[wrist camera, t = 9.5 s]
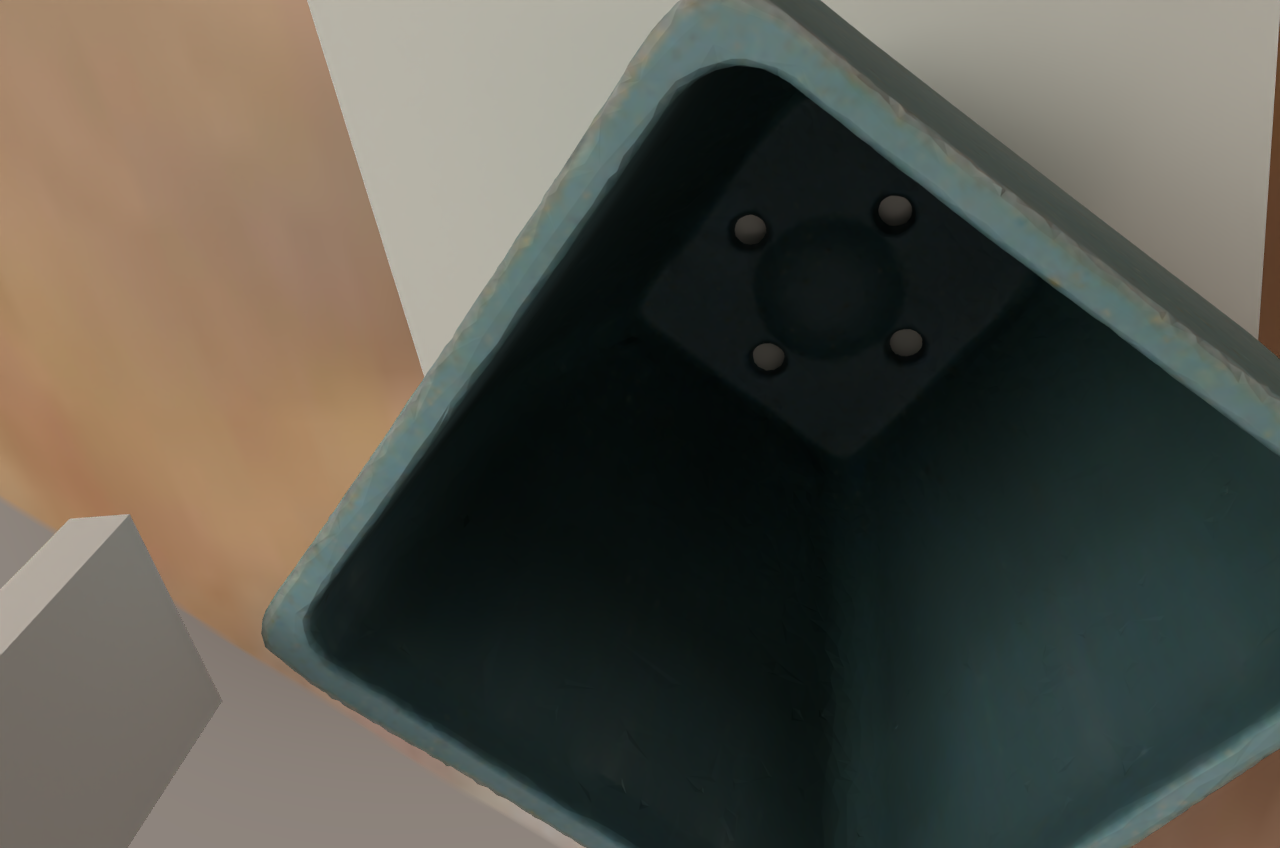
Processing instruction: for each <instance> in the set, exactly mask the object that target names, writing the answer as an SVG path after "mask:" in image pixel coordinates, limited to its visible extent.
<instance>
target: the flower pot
mask: <svg viewBox="0 0 1280 848" xmlns="http://www.w3.org/2000/svg"><path fill="white" fill-rule="evenodd" d="M889 196H900V197H904V198H906V199H907V200H908V201H909V203H910V204H911V206H912V214H911V217H910V218H909V220H908V221H907V222H906V223H904V224H901V225H898V226H890V225H888V224H886V223H885V222H884V221H882V219H881V217H880V216H879V212H878V209H879V206H880V204H881V201H883V200H884V199H885V198H887V197H889ZM747 215H754V216H757V217H759V218H760V219H762V220H763V222H764V224H765V226H766V234H765V236H764V238H763V239H762V240H761V241H760V242H759V243H756V244H744V243H743V242H741V241H740V240H739V239H738V238H737V237H736V235H735V226H736V223H737V221H738V220H739V219H740V218H742V217H744V216H747ZM903 329H911V330H913V331H916V332H917V333H918V334H919V335H920V336H921V337H922V347H921V349H920V350H919V351H918V352H917V353H915V354H914V355H910V356H900V355H898V354H895V353H894V352H893V351H892V349H891V346H890V339H891V337H892V336H893V334H894V333H895V332H897V331H899V330H903ZM769 343H771V344H773V345H776V346H778V347H779V348H780V349H782V351H783V352H784V356H785V357H784V361H783V363H782V365H781V366H780V367H778V368H776V369H774V370H764V369H762V368H760V367H758V366H757V364H756V363H755V362H754V358H753V352H754V350H755V348H756V347H757V346H759V345H761V344H769ZM261 634H262V637H263V641H264V644H265V647H266V648H267V649H268V650H270V651H271V652H272V653H273V654H274V655H276V656H277V657H278V658H280V659H281V660H282V661H283V662H284V663H286V664H287V665H288V666H289V667H290V668H291V669H293V670H294V671H295V672H297V673H298V674H300V675H301V676H302V677H304V678H305V679H306V680H307V681H308V682H309V683H310V684H312V685H314V686H316V687H317V688H319V689H320V690H321V691H323V692H326V693H327V694H328V695H329V696H330V697H331V698H332V699H335V700H339V701H340V702H341V703H342V704H343V705H344V706H346V707H348V708H349V709H351V710H353V711H356V712H357V713H359V714H361V715H362V716H364V717H366V718H367V719H369V720H370V721H372V722H373V723H376V724H378V725H380V726H382V727H383V728H384V729H385V730H387V731H388V732H390V733H392V734H394V735H396V736H398V737H400V738H401V739H403V740H405V741H406V742H408V743H409V744H411V745H413V746H415V747H417V748H419V749H421V750H423V751H425V752H426V753H428V754H429V755H430V756H432V757H434V758H436V759H438V760H440V761H442V762H443V763H444V764H445V765H446V766H452V767H453V768H455V769H456V770H458V771H460V772H461V773H463V774H464V775H466V776H468V777H470V778H472V779H473V780H474V781H475V782H476V783H477V784H479V785H482V786H485V787H488V788H489V789H490V790H492V791H493V792H494V793H495V794H496V795H498V796H501V797H504V798H506V799H508V800H509V801H511V802H513V803H514V804H516V805H517V806H518V807H520V808H521V809H523V810H524V811H526V812H527V813H529V814H531V815H532V816H534V817H535V818H537V819H540V820H542V821H543V822H545V823H547V824H548V825H550V826H552V827H553V828H555V829H556V830H558V831H559V832H561V833H562V834H564V835H565V836H568V837H570V838H572V839H573V840H575V841H576V842H577V843H579V844H580V845H582V846H584V847H586V848H1130V847H1131V846H1133V845H1135V844H1137V843H1138V842H1140V841H1141V840H1143V839H1144V838H1146V837H1147V836H1149V835H1150V834H1152V833H1153V832H1155V831H1156V830H1158V829H1159V828H1161V827H1162V826H1164V825H1165V824H1167V823H1168V822H1169V821H1171V820H1172V819H1174V818H1175V817H1177V816H1179V815H1180V814H1182V813H1183V812H1185V811H1186V810H1188V809H1189V808H1190V807H1191V806H1192V805H1194V804H1196V803H1198V802H1200V801H1201V800H1203V799H1204V798H1205V797H1207V796H1208V795H1209V794H1211V793H1213V792H1214V791H1216V790H1218V789H1219V788H1221V787H1223V786H1224V785H1226V784H1227V783H1228V782H1230V781H1231V780H1233V779H1234V778H1236V777H1238V776H1239V775H1241V774H1242V773H1244V772H1245V771H1246V770H1248V769H1250V768H1251V767H1253V766H1255V765H1256V764H1257V763H1258V762H1259V761H1260V760H1262V759H1264V758H1265V757H1267V756H1268V755H1270V754H1272V753H1273V752H1275V751H1277V750H1278V749H1280V359H1279V358H1278V357H1277V356H1276V355H1275V354H1273V353H1272V352H1271V351H1270V350H1269V349H1267V348H1266V347H1265V346H1264V345H1263V344H1262V343H1260V342H1259V341H1258V340H1257V339H1256V338H1255V337H1253V336H1252V335H1251V334H1250V333H1249V332H1247V331H1246V330H1245V329H1244V328H1242V327H1241V326H1240V325H1238V324H1237V323H1236V322H1235V321H1233V320H1232V319H1231V318H1229V317H1228V316H1227V315H1225V314H1224V313H1223V312H1222V311H1220V310H1219V309H1218V308H1216V307H1215V306H1214V305H1212V304H1211V303H1210V302H1208V301H1207V300H1206V299H1205V298H1203V297H1202V296H1201V295H1199V294H1198V293H1197V292H1195V291H1194V290H1193V289H1191V288H1190V287H1189V286H1188V285H1186V284H1185V283H1184V282H1182V281H1181V280H1180V279H1178V278H1177V277H1176V276H1174V275H1173V274H1172V273H1171V272H1169V271H1168V270H1167V269H1165V268H1164V267H1163V266H1161V265H1160V264H1159V263H1157V262H1156V261H1155V260H1154V259H1152V258H1151V257H1150V256H1148V255H1147V254H1146V253H1144V252H1143V251H1142V250H1140V249H1139V248H1138V247H1137V246H1135V245H1134V244H1133V243H1131V242H1130V241H1129V240H1127V239H1126V238H1125V237H1124V236H1122V235H1121V234H1120V233H1118V232H1117V231H1116V230H1114V229H1113V228H1112V227H1110V226H1109V225H1108V224H1107V223H1105V222H1104V221H1103V220H1101V219H1100V218H1099V217H1097V216H1096V215H1095V214H1094V213H1092V212H1091V211H1090V210H1088V209H1087V208H1086V207H1084V206H1083V205H1082V204H1080V203H1079V202H1078V201H1077V200H1075V199H1074V198H1073V197H1071V196H1070V195H1069V194H1068V193H1066V192H1065V191H1064V190H1062V189H1061V188H1060V187H1058V186H1057V185H1056V184H1055V183H1053V182H1052V181H1051V180H1049V179H1048V178H1047V177H1046V176H1044V175H1043V174H1042V173H1040V172H1039V171H1038V170H1036V169H1035V168H1034V167H1033V166H1031V165H1030V164H1029V163H1027V162H1026V161H1025V160H1024V159H1022V158H1021V157H1020V156H1018V155H1017V154H1016V153H1014V152H1013V151H1012V150H1011V149H1009V148H1008V147H1007V146H1005V145H1004V144H1003V143H1002V142H1000V141H999V140H998V139H996V138H995V137H994V136H992V135H991V134H990V133H989V132H987V131H986V130H985V129H983V128H982V127H981V126H980V125H978V124H977V123H976V122H974V121H973V120H972V119H970V118H969V117H968V116H967V115H965V114H964V113H963V112H961V111H960V110H959V109H958V108H956V107H955V106H954V105H952V104H951V103H950V102H949V101H947V100H946V99H945V98H943V97H942V96H941V95H940V94H938V93H937V92H936V91H934V90H933V89H932V88H931V87H929V86H928V85H927V84H925V83H924V82H923V81H922V80H920V79H919V78H918V77H917V76H915V75H914V74H913V73H911V72H910V71H909V70H908V69H906V68H905V67H904V66H902V65H901V64H900V63H899V62H897V61H896V60H895V59H893V58H892V57H891V56H890V55H888V54H887V53H886V52H884V51H883V50H882V49H881V48H879V47H878V46H877V45H875V44H874V43H873V42H872V41H870V40H869V39H868V38H866V37H865V36H864V35H863V34H862V33H860V32H859V31H858V30H857V29H855V28H854V27H853V26H852V25H850V24H849V23H848V22H847V21H845V20H844V19H843V18H842V17H841V16H839V15H838V14H837V13H836V12H834V11H833V10H832V9H831V8H829V7H828V6H827V5H826V4H825V3H823V2H822V1H821V0H680V1H678V2H677V3H676V4H675V5H674V6H673V7H672V9H671V10H670V11H669V12H668V13H667V14H666V15H665V16H664V17H663V18H662V19H661V20H660V21H659V22H658V24H657V25H656V26H655V27H654V28H653V29H652V31H651V32H650V33H649V35H648V36H647V38H646V39H645V41H644V42H643V44H642V45H641V46H640V48H639V49H638V51H637V52H636V54H635V55H634V57H633V58H632V59H631V61H630V62H629V64H628V66H627V68H626V70H625V72H624V74H623V75H622V77H621V79H620V80H619V82H618V83H617V85H616V87H615V88H614V90H613V91H612V93H611V95H610V96H609V98H608V99H607V101H606V102H605V104H604V105H603V107H602V108H601V109H600V111H599V112H598V113H597V115H596V116H595V117H594V119H593V121H592V123H591V125H590V126H589V128H588V129H587V131H586V132H585V134H584V136H583V137H582V139H581V140H580V142H579V143H578V145H577V147H576V148H575V150H574V151H573V153H572V154H571V156H570V158H569V159H568V161H567V162H566V164H565V165H564V167H563V168H562V170H561V172H560V173H559V175H558V176H557V177H556V178H555V179H554V182H553V183H552V185H551V186H550V188H549V189H548V190H547V192H546V193H545V195H544V196H543V199H542V201H541V203H540V205H539V206H538V208H537V209H536V210H535V212H534V213H533V215H532V216H531V218H530V219H529V221H528V222H527V223H526V225H525V226H524V228H523V229H522V230H521V232H520V233H519V235H518V236H517V238H516V239H515V241H514V243H513V244H512V246H511V248H510V249H509V251H508V253H507V254H506V256H505V258H504V259H503V261H502V262H501V263H500V265H499V266H498V267H497V269H496V271H495V273H494V275H493V276H492V277H491V279H490V280H489V282H488V283H487V284H486V286H485V287H484V289H483V290H482V292H481V293H480V295H479V296H478V298H477V299H476V301H475V302H474V304H473V305H472V307H471V308H470V310H469V311H468V313H467V314H466V316H465V318H464V319H463V321H462V322H461V324H460V325H459V327H458V328H457V330H456V332H455V334H454V336H453V338H452V339H451V340H450V342H449V343H448V344H447V345H446V346H445V347H444V349H443V351H442V352H441V354H440V355H439V357H438V358H437V360H436V361H435V363H434V364H433V366H432V367H431V368H430V369H429V371H428V372H427V374H426V375H425V377H424V379H423V381H422V382H421V384H420V385H419V386H418V388H417V389H416V391H415V392H414V393H413V395H412V396H411V398H410V399H409V400H408V402H407V403H406V405H405V407H404V408H403V410H402V411H401V413H400V415H399V416H398V417H397V419H396V420H395V422H394V424H393V425H392V427H391V428H390V430H389V432H388V433H387V434H386V436H385V437H384V439H383V440H382V442H381V443H380V445H379V446H378V447H377V449H376V450H375V452H374V453H373V455H372V456H371V458H370V460H369V461H368V462H367V464H366V465H365V466H364V467H363V469H362V471H361V472H360V474H359V475H358V477H357V478H356V480H355V481H354V482H353V484H352V485H351V487H350V488H349V490H348V491H347V493H346V494H345V495H344V497H343V498H342V500H341V501H340V503H339V504H338V506H337V507H336V509H335V511H334V512H333V513H332V515H331V516H330V517H329V519H328V521H327V523H326V524H325V525H324V527H323V528H322V529H321V531H320V532H319V534H318V535H317V537H316V538H315V540H314V541H313V543H312V544H311V545H310V547H309V548H308V549H307V551H306V552H305V553H304V555H303V556H302V558H301V559H300V561H299V562H298V564H297V565H296V567H295V568H294V570H293V571H292V572H291V574H290V575H289V576H288V577H287V579H286V580H285V582H284V583H283V585H282V586H281V587H280V588H279V590H278V591H277V593H276V595H275V597H274V598H273V600H272V601H271V603H270V605H269V606H268V608H267V610H266V612H265V614H264V617H263V621H262V632H261Z"/></svg>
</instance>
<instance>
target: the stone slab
mask: <svg viewBox="0 0 1280 848" xmlns="http://www.w3.org/2000/svg"><path fill="white" fill-rule="evenodd" d="M307 1H308V5H309V8H310V11H311V14H312V17H313V21H314V24H315V27H316V30H317V33H318V37H319V40H320V43H321V46H322V50H323V53H324V56H325V59H326V62H327V66H328V69H329V72H330V75H331V78H332V82H333V85H334V88H335V91H336V95H337V98H338V101H339V104H340V107H341V111H342V114H343V117H344V120H345V123H346V127H347V130H348V133H349V136H350V139H351V143H352V146H353V149H354V152H355V156H356V159H357V162H358V165H359V168H360V172H361V175H362V178H363V181H364V184H365V188H366V191H367V194H368V197H369V200H370V204H371V207H372V210H373V213H374V217H375V220H376V223H377V226H378V229H379V233H380V236H381V239H382V242H383V245H384V249H385V252H386V255H387V258H388V261H389V265H390V268H391V271H392V274H393V278H394V281H395V284H396V287H397V290H398V294H399V297H400V300H401V303H402V306H403V310H404V313H405V316H406V319H407V322H408V326H409V329H410V332H411V335H412V339H413V342H414V345H415V348H416V351H417V355H418V358H419V361H420V364H421V367H422V371H423V374H424V377H425V375H426V374H427V372H428V371H429V369H430V368H431V367H432V366H433V364H434V363H435V361H436V360H437V358H438V357H439V355H440V354H441V352H442V351H443V349H444V347H445V346H446V345H447V344H448V343H449V342H450V340H451V339H452V338H453V336H454V334H455V332H456V330H457V328H458V327H459V325H460V324H461V322H462V321H463V319H464V318H465V316H466V314H467V313H468V311H469V310H470V308H471V307H472V305H473V304H474V302H475V301H476V299H477V298H478V296H479V295H480V293H481V292H482V290H483V289H484V287H485V286H486V284H487V283H488V282H489V280H490V279H491V277H492V276H493V275H494V273H495V271H496V269H497V267H498V266H499V265H500V263H501V262H502V261H503V259H504V258H505V256H506V254H507V253H508V251H509V249H510V248H511V246H512V244H513V243H514V241H515V239H516V238H517V236H518V235H519V233H520V232H521V230H522V229H523V228H524V226H525V225H526V223H527V222H528V221H529V219H530V218H531V216H532V215H533V213H534V212H535V210H536V209H537V208H538V206H539V205H540V203H541V201H542V199H543V196H544V195H545V193H546V192H547V190H548V189H549V188H550V186H551V185H552V183H553V182H554V179H555V178H556V177H557V176H558V175H559V173H560V172H561V170H562V168H563V167H564V165H565V164H566V162H567V161H568V159H569V158H570V156H571V154H572V153H573V151H574V150H575V148H576V147H577V145H578V143H579V142H580V140H581V139H582V137H583V136H584V134H585V132H586V131H587V129H588V128H589V126H590V125H591V123H592V121H593V119H594V117H595V116H596V115H597V113H598V112H599V111H600V109H601V108H602V107H603V105H604V104H605V102H606V101H607V99H608V98H609V96H610V95H611V93H612V91H613V90H614V88H615V87H616V85H617V83H618V82H619V80H620V79H621V77H622V75H623V74H624V72H625V70H626V68H627V66H628V64H629V62H630V61H631V59H632V58H633V57H634V55H635V54H636V52H637V51H638V49H639V48H640V46H641V45H642V44H643V42H644V41H645V39H646V38H647V36H648V35H649V33H650V32H651V31H652V29H653V28H654V27H655V26H656V25H657V24H658V22H659V21H660V20H661V19H662V18H663V17H664V16H665V15H666V14H667V13H668V12H669V11H670V10H671V9H672V7H673V6H674V5H675V4H676V3H677V2H678V1H680V0H307ZM821 1H822V2H823V3H825V4H826V5H827V6H828V7H829V8H831V9H832V10H833V11H834V12H836V13H837V14H838V15H839V16H841V17H842V18H843V19H844V20H845V21H847V22H848V23H849V24H850V25H852V26H853V27H854V28H855V29H857V30H858V31H859V32H860V33H862V34H863V35H864V36H865V37H866V38H868V39H869V40H870V41H872V42H873V43H874V44H875V45H877V46H878V47H879V48H881V49H882V50H883V51H884V52H886V53H887V54H888V55H890V56H891V57H892V58H893V59H895V60H896V61H897V62H899V63H900V64H901V65H902V66H904V67H905V68H906V69H908V70H909V71H910V72H911V73H913V74H914V75H915V76H917V77H918V78H919V79H920V80H922V81H923V82H924V83H925V84H927V85H928V86H929V87H931V88H932V89H933V90H934V91H936V92H937V93H938V94H940V95H941V96H942V97H943V98H945V99H946V100H947V101H949V102H950V103H951V104H952V105H954V106H955V107H956V108H958V109H959V110H960V111H961V112H963V113H964V114H965V115H967V116H968V117H969V118H970V119H972V120H973V121H974V122H976V123H977V124H978V125H980V126H981V127H982V128H983V129H985V130H986V131H987V132H989V133H990V134H991V135H992V136H994V137H995V138H996V139H998V140H999V141H1000V142H1002V143H1003V144H1004V145H1005V146H1007V147H1008V148H1009V149H1011V150H1012V151H1013V152H1014V153H1016V154H1017V155H1018V156H1020V157H1021V158H1022V159H1024V160H1025V161H1026V162H1027V163H1029V164H1030V165H1031V166H1033V167H1034V168H1035V169H1036V170H1038V171H1039V172H1040V173H1042V174H1043V175H1044V176H1046V177H1047V178H1048V179H1049V180H1051V181H1052V182H1053V183H1055V184H1056V185H1057V186H1058V187H1060V188H1061V189H1062V190H1064V191H1065V192H1066V193H1068V194H1069V195H1070V196H1071V197H1073V198H1074V199H1075V200H1077V201H1078V202H1079V203H1080V204H1082V205H1083V206H1084V207H1086V208H1087V209H1088V210H1090V211H1091V212H1092V213H1094V214H1095V215H1096V216H1097V217H1099V218H1100V219H1101V220H1103V221H1104V222H1105V223H1107V224H1108V225H1109V226H1110V227H1112V228H1113V229H1114V230H1116V231H1117V232H1118V233H1120V234H1121V235H1122V236H1124V237H1125V238H1126V239H1127V240H1129V241H1130V242H1131V243H1133V244H1134V245H1135V246H1137V247H1138V248H1139V249H1140V250H1142V251H1143V252H1144V253H1146V254H1147V255H1148V256H1150V257H1151V258H1152V259H1154V260H1155V261H1156V262H1157V263H1159V264H1160V265H1161V266H1163V267H1164V268H1165V269H1167V270H1168V271H1169V272H1171V273H1172V274H1173V275H1174V276H1176V277H1177V278H1178V279H1180V280H1181V281H1182V282H1184V283H1185V284H1186V285H1188V286H1189V287H1190V288H1191V289H1193V290H1194V291H1195V292H1197V293H1198V294H1199V295H1201V296H1202V297H1203V298H1205V299H1206V300H1207V301H1208V302H1210V303H1211V304H1212V305H1214V306H1215V307H1216V308H1218V309H1219V310H1220V311H1222V312H1223V313H1224V314H1225V315H1227V316H1228V317H1229V318H1231V319H1232V320H1233V321H1235V322H1236V323H1237V324H1238V325H1240V326H1241V327H1242V328H1244V329H1245V330H1246V331H1247V332H1249V333H1250V334H1251V335H1252V336H1253V337H1255V338H1256V339H1257V340H1258V335H1259V320H1260V305H1261V290H1262V275H1263V260H1264V245H1265V231H1266V216H1267V201H1268V186H1269V171H1270V156H1271V141H1272V126H1273V112H1274V97H1275V82H1276V67H1277V52H1278V37H1279V22H1280V0H821ZM878 212H879V216H880V217H881V219H882V221H884V222H885V223H886V224H888V225H890V226H898V225H901V224H904V223H906V222H907V221H908V220H909V218H910V217H911V214H912V206H911V204H910V203H909V201H908V200H907V199H906V198H904V197H900V196H889V197H887V198H885V199H884V200H883V201H881V204H880V206H879V209H878ZM765 234H766V226H765V224H764V222H763V220H762V219H760V218H759V217H757V216H754V215H747V216H744V217H742V218H740V219H739V220H738V221H737V223H736V226H735V235H736V237H737V238H738V239H739V240H740V241H741V242H743V243H744V244H756V243H759V242H760V241H761V240H762V239H763V238H764V236H765ZM890 346H891V349H892V351H893V352H894V353H895V354H898V355H900V356H910V355H914V354H915V353H917V352H918V351H919V350H920V349H921V347H922V337H921V336H920V335H919V334H918V333H917V332H916V331H913V330H911V329H903V330H899V331H897V332H895V333H894V334H893V336H892V337H891V339H890ZM784 357H785V356H784V352H783V351H782V349H780V348H779V347H778V346H776V345H773V344H771V343H769V344H761V345H759V346H757V347H756V348H755V350H754V352H753V358H754V362H755V363H756V364H757V366H758V367H760V368H762V369H764V370H774V369H776V368H778V367H780V366H781V365H782V363H783V361H784Z"/></svg>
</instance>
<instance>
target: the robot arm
mask: <svg viewBox="0 0 1280 848" xmlns="http://www.w3.org/2000/svg"><path fill="white" fill-rule="evenodd" d="M221 702H222V699H221V697H220V695H219V693H218V691H217V689H216V687H215V685H214V683H213V681H212V679H211V677H210V675H209V673H208V671H207V669H206V667H205V665H204V663H203V661H202V659H201V657H200V655H199V653H198V651H197V649H196V647H195V645H194V643H193V641H192V639H191V637H190V635H189V633H188V631H187V629H186V627H185V625H184V623H183V621H182V619H181V617H180V615H179V613H178V611H177V609H176V607H175V605H174V603H173V601H172V599H171V597H170V595H169V593H168V591H167V589H166V586H165V584H164V582H163V580H162V578H161V576H160V574H159V572H158V570H157V568H156V566H155V564H154V562H153V560H152V558H151V556H150V554H149V552H148V550H147V548H146V546H145V544H144V542H143V540H142V538H141V536H140V534H139V532H138V530H137V528H136V526H135V524H134V522H133V520H132V518H131V516H130V514H125V515H113V516H100V517H87V518H75V519H69V520H68V521H67V522H66V523H65V524H64V525H63V526H62V527H61V528H60V529H59V530H58V531H57V532H56V533H55V534H54V535H53V536H52V537H51V538H50V539H49V540H48V541H47V543H46V544H45V545H44V546H42V548H40V549H39V551H38V552H37V553H36V554H35V555H34V556H33V557H32V558H31V559H30V560H29V561H28V562H27V563H26V564H25V565H24V566H23V567H22V568H21V569H20V570H19V571H18V572H17V573H16V574H15V575H14V576H13V577H12V578H11V579H10V580H9V581H8V582H7V583H6V584H5V585H4V586H3V587H2V588H1V589H0V848H128V846H129V844H130V843H131V841H132V840H133V838H134V837H135V835H136V834H137V832H138V831H139V829H140V827H141V826H142V824H143V823H144V821H145V820H146V818H147V817H148V815H149V813H150V812H151V810H152V809H153V807H154V806H155V804H156V803H157V801H158V799H159V798H160V796H161V795H162V793H163V792H164V790H165V789H166V787H167V786H168V784H169V783H170V781H171V779H172V778H173V776H174V775H175V773H176V771H177V770H178V769H179V767H180V765H181V764H182V762H183V761H184V759H185V758H186V756H187V754H188V753H189V752H190V750H191V748H192V747H193V745H194V744H195V742H196V741H197V739H198V738H199V736H200V734H201V733H202V731H203V730H204V728H205V727H206V725H207V724H208V722H209V721H210V719H211V717H212V716H213V714H214V713H215V711H216V710H217V708H218V707H219V705H220V704H221Z"/></svg>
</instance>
